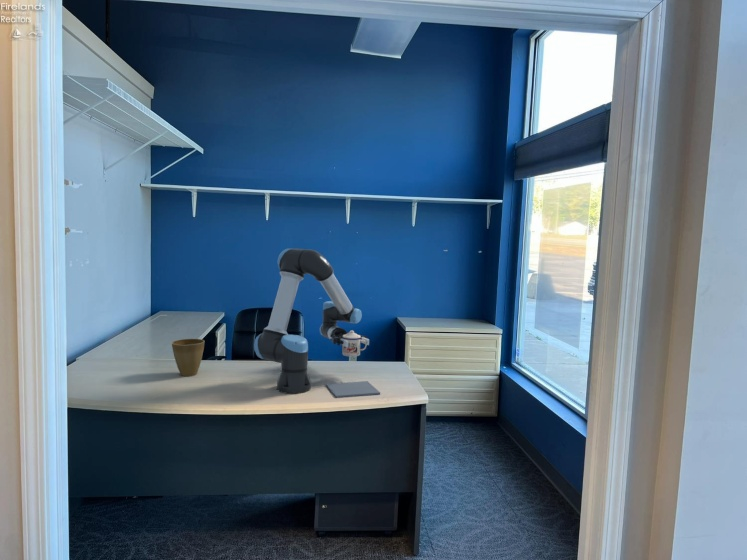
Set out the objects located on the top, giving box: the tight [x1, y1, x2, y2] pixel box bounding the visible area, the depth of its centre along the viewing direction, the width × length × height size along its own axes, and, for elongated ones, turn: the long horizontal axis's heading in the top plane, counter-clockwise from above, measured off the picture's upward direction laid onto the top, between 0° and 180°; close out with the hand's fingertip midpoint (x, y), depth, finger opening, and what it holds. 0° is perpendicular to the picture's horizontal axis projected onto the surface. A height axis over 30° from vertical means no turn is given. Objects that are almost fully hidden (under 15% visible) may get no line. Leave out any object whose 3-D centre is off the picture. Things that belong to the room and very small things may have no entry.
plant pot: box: [171, 338, 205, 377], centre depth 253 cm, size 15×15×16 cm
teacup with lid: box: [341, 330, 368, 357], centre depth 254 cm, size 12×9×12 cm
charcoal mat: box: [325, 380, 381, 399], centre depth 237 cm, size 20×18×1 cm
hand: (357, 343), depth 250 cm, fingers closed on teacup with lid, 11 cm apart
